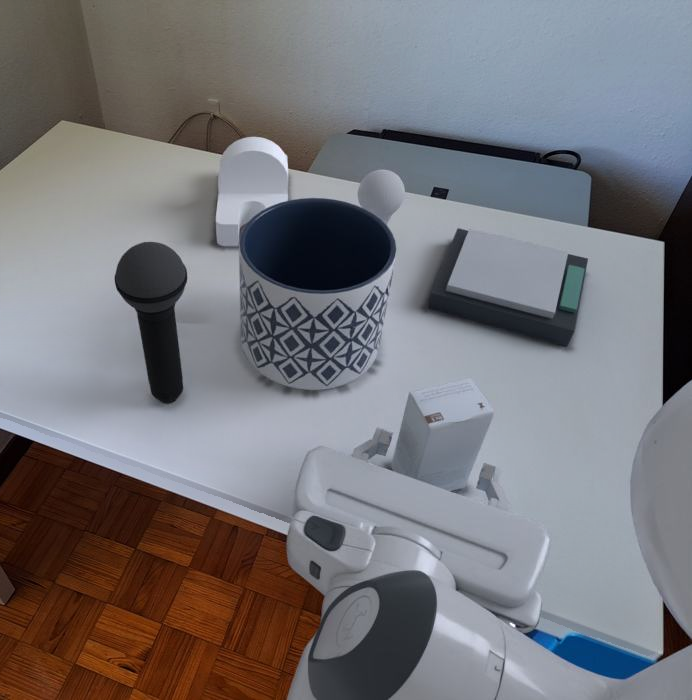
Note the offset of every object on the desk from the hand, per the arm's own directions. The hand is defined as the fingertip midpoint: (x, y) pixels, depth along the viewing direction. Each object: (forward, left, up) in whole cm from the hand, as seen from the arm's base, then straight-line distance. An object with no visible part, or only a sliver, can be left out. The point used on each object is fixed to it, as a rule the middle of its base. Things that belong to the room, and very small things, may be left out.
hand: (436, 451), depth 61 cm
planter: (+17, -14, -7) cm, 23 cm away
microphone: (+28, 0, -7) cm, 29 cm away
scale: (-2, -32, -6) cm, 33 cm away
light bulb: (+16, -36, -7) cm, 40 cm away
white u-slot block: (+34, -36, -7) cm, 50 cm away
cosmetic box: (0, -1, -7) cm, 7 cm away
